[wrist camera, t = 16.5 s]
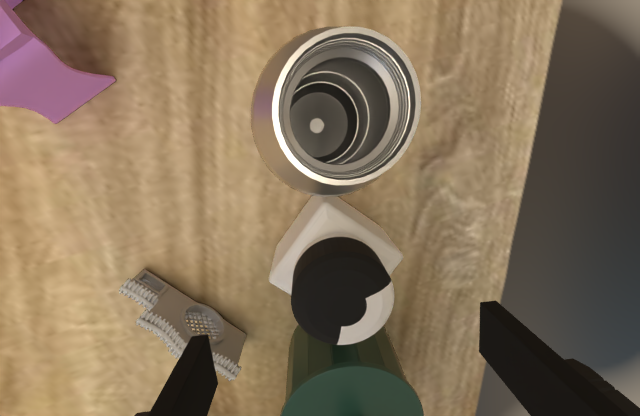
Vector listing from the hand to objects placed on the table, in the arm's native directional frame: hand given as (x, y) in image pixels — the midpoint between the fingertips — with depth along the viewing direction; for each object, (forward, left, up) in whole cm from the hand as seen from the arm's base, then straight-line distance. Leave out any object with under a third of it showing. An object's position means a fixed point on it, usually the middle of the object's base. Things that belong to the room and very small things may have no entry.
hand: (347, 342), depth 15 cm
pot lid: (-11, +4, -6) cm, 13 cm away
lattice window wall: (0, +14, -15) cm, 21 cm away
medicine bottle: (0, 0, -15) cm, 15 cm away
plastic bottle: (+10, -4, -15) cm, 18 cm away
